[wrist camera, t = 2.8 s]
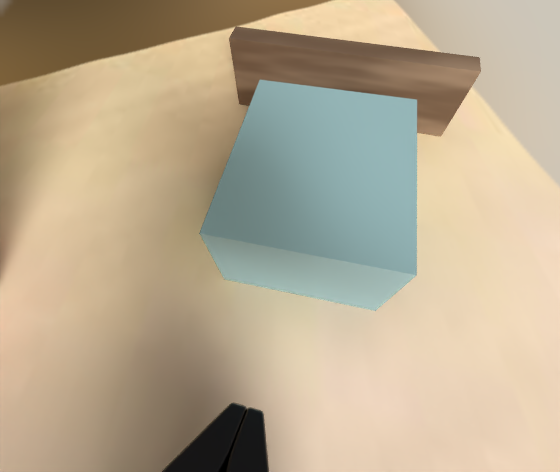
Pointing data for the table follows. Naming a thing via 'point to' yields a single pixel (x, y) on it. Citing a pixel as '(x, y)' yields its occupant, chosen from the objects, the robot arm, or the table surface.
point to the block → (319, 195)
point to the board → (355, 70)
